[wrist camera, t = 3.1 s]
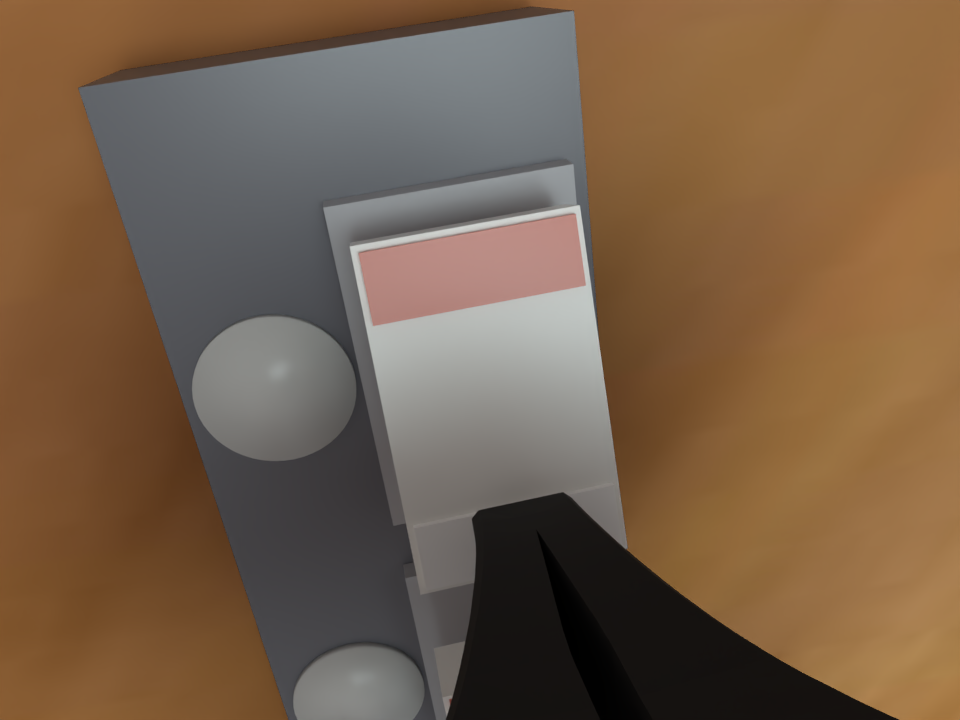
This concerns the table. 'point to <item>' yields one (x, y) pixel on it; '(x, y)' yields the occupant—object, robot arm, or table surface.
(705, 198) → the table surface
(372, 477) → the power strip
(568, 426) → the rocker outer
